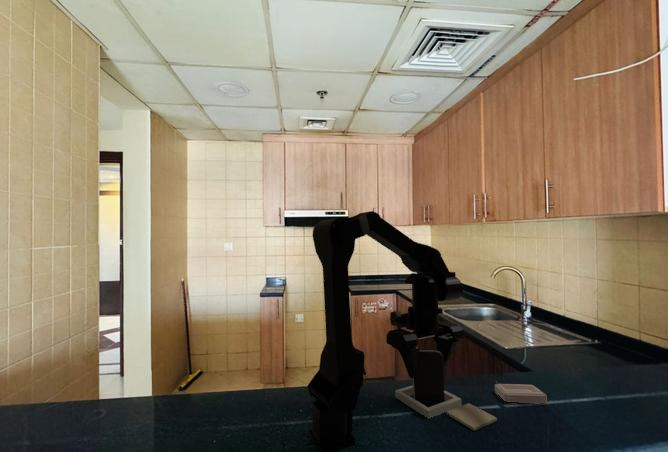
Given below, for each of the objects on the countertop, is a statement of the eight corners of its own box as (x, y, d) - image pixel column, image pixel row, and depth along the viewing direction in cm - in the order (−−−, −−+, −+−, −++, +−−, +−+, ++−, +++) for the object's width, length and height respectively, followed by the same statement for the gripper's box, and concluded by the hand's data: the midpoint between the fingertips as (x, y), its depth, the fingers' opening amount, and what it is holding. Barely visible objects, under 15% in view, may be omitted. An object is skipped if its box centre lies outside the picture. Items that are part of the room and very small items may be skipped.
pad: (474, 430, 55) (474, 428, 56) (446, 414, 61) (446, 411, 61) (497, 420, 59) (496, 417, 59) (468, 405, 64) (468, 403, 64)
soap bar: (494, 393, 71) (493, 382, 71) (533, 394, 70) (533, 383, 71) (505, 404, 66) (505, 393, 66) (548, 406, 65) (547, 394, 65)
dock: (428, 418, 59) (428, 411, 60) (395, 397, 68) (395, 390, 68) (461, 406, 64) (461, 399, 64) (426, 387, 73) (426, 381, 73)
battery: (439, 397, 68) (438, 346, 69) (446, 406, 64) (444, 351, 65) (409, 397, 68) (408, 346, 69) (414, 406, 64) (413, 352, 65)
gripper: (427, 295, 79) (429, 355, 78) (371, 301, 70) (371, 369, 69) (463, 301, 70) (466, 370, 68) (403, 309, 61) (404, 388, 59)
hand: (426, 373), depth 67 cm, fingers open, 9 cm apart
